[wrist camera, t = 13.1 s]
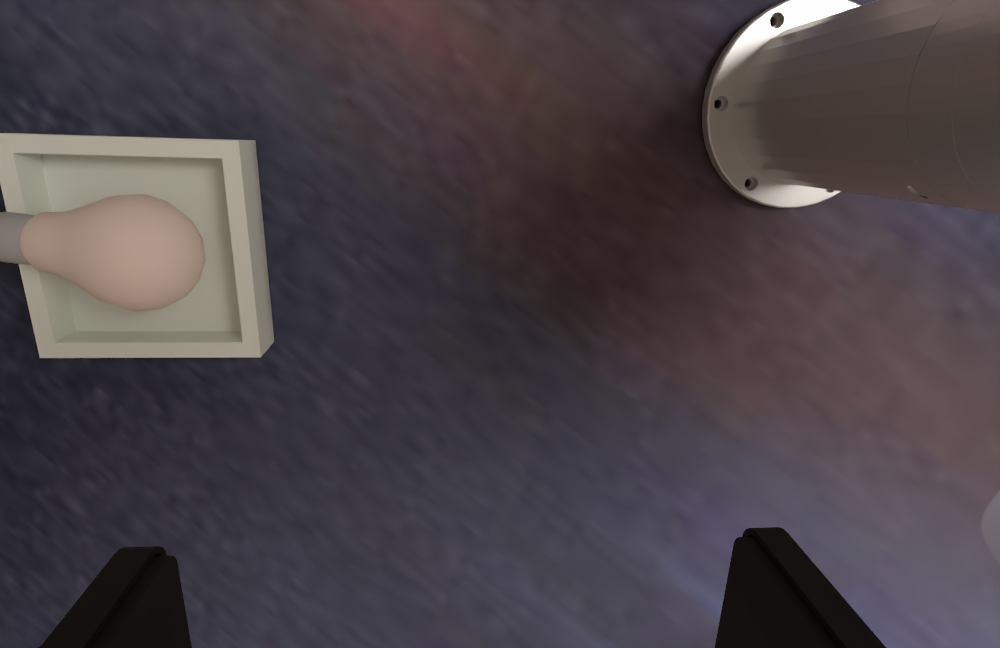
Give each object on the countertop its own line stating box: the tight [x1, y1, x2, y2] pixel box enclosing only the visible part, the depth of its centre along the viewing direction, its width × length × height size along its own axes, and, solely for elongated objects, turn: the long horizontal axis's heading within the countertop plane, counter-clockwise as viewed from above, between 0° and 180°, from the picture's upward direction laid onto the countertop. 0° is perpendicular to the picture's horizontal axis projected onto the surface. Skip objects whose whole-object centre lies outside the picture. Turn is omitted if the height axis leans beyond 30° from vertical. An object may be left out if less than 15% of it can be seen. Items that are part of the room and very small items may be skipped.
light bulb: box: [0, 194, 206, 311], centre depth 32 cm, size 7×7×11 cm
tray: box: [0, 133, 274, 358], centre depth 35 cm, size 13×13×3 cm
